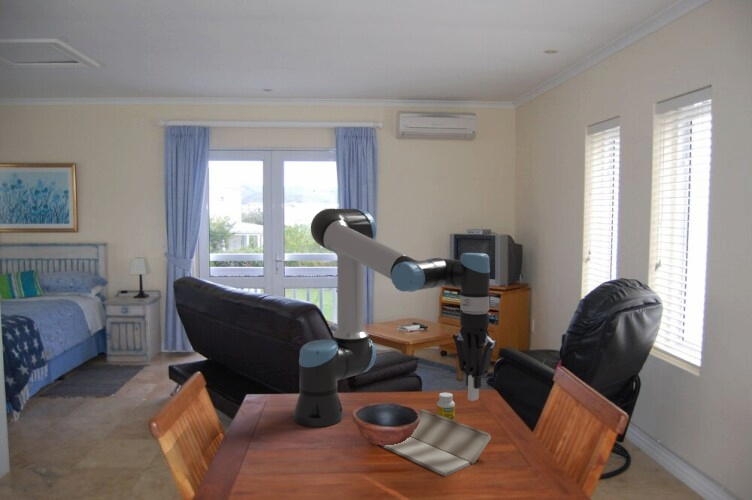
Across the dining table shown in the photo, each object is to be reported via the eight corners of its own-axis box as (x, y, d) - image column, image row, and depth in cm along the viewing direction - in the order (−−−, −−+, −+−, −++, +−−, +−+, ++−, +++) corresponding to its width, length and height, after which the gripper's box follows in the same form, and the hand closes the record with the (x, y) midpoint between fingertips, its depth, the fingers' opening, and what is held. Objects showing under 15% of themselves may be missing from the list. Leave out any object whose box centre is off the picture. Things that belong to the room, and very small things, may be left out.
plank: (405, 436, 156) (403, 432, 156) (423, 412, 161) (421, 408, 160) (473, 465, 139) (470, 460, 138) (491, 437, 143) (488, 432, 142)
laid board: (377, 447, 149) (378, 441, 149) (403, 437, 156) (403, 432, 156) (445, 479, 131) (445, 473, 131) (471, 466, 138) (471, 461, 138)
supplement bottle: (447, 421, 168) (448, 390, 168) (458, 427, 164) (458, 395, 163) (433, 424, 166) (433, 393, 165) (443, 430, 161) (443, 398, 161)
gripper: (446, 310, 148) (445, 396, 149) (486, 316, 138) (484, 408, 139) (464, 307, 153) (463, 390, 154) (503, 313, 143) (502, 402, 144)
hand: (473, 399), depth 147 cm, fingers closed
